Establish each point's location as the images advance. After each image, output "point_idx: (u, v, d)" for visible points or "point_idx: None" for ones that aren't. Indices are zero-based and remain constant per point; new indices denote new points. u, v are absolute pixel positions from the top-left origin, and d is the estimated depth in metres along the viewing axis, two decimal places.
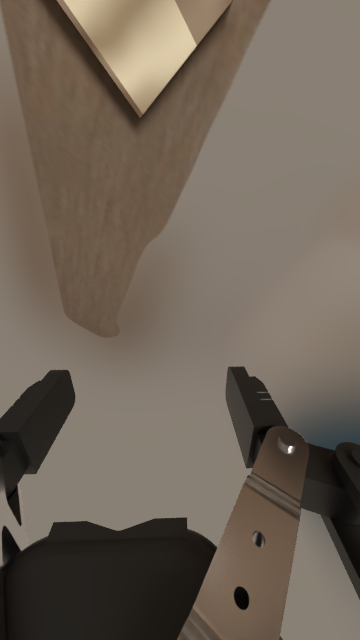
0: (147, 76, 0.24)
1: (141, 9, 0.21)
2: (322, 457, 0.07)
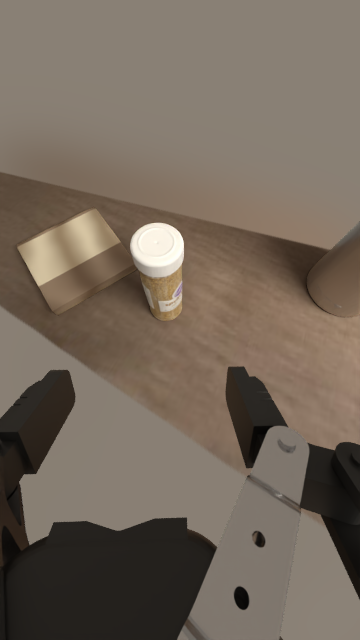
0: (35, 253, 0.32)
1: (63, 254, 0.32)
2: (322, 457, 0.07)
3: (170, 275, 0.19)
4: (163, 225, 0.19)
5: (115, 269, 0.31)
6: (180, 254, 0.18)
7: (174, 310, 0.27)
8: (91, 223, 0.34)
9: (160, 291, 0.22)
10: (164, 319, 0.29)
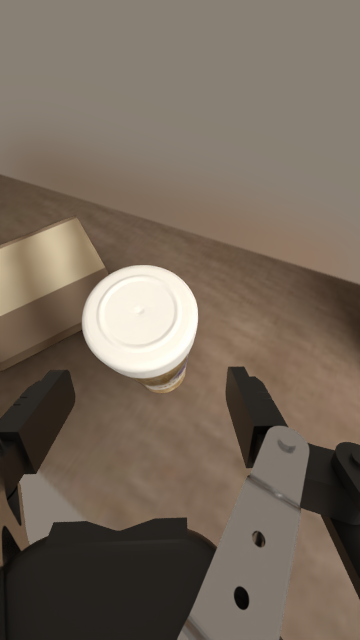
0: None
1: (22, 280, 0.22)
2: (322, 457, 0.07)
3: None
4: (158, 272, 0.09)
5: None
6: (189, 342, 0.08)
7: (172, 385, 0.18)
8: (68, 238, 0.24)
9: (147, 381, 0.12)
10: (157, 391, 0.19)
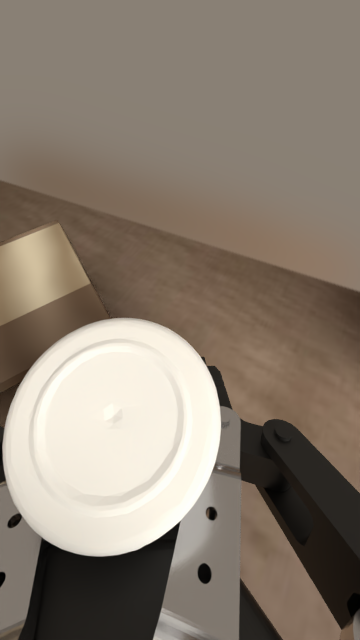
0: None
1: None
2: (254, 433, 0.08)
3: None
4: (148, 334, 0.05)
5: None
6: (207, 479, 0.04)
7: None
8: (47, 247, 0.20)
9: None
10: None
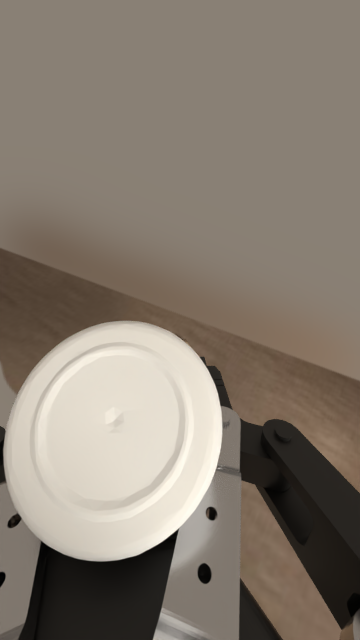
0: None
1: None
2: (254, 433, 0.08)
3: None
4: (150, 337, 0.05)
5: None
6: (209, 483, 0.04)
7: None
8: None
9: None
10: None
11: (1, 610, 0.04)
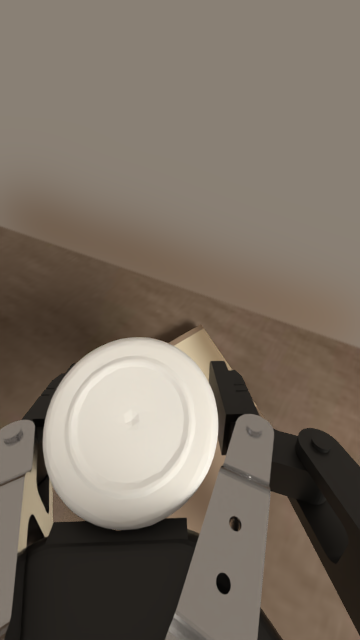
0: None
1: None
2: (287, 442, 0.07)
3: None
4: (159, 352, 0.06)
5: None
6: (207, 471, 0.05)
7: None
8: (200, 360, 0.20)
9: None
10: None
11: None
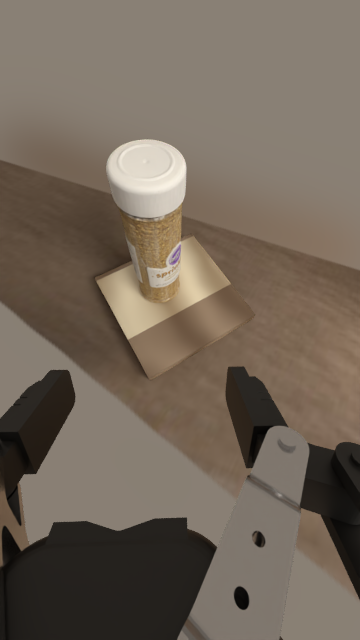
0: (120, 291, 0.24)
1: None
2: (322, 457, 0.07)
3: (163, 219, 0.13)
4: (159, 142, 0.13)
5: (228, 322, 0.23)
6: (180, 181, 0.12)
7: (168, 288, 0.21)
8: (190, 255, 0.26)
9: (149, 249, 0.16)
10: (155, 300, 0.23)
11: None
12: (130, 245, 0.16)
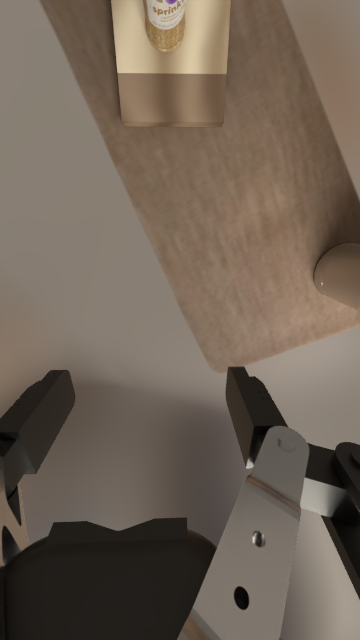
0: (127, 4, 0.24)
1: None
2: (322, 457, 0.07)
3: None
4: None
5: (200, 113, 0.28)
6: None
7: (165, 35, 0.23)
8: (212, 3, 0.24)
9: None
10: (153, 43, 0.24)
11: None
12: None
